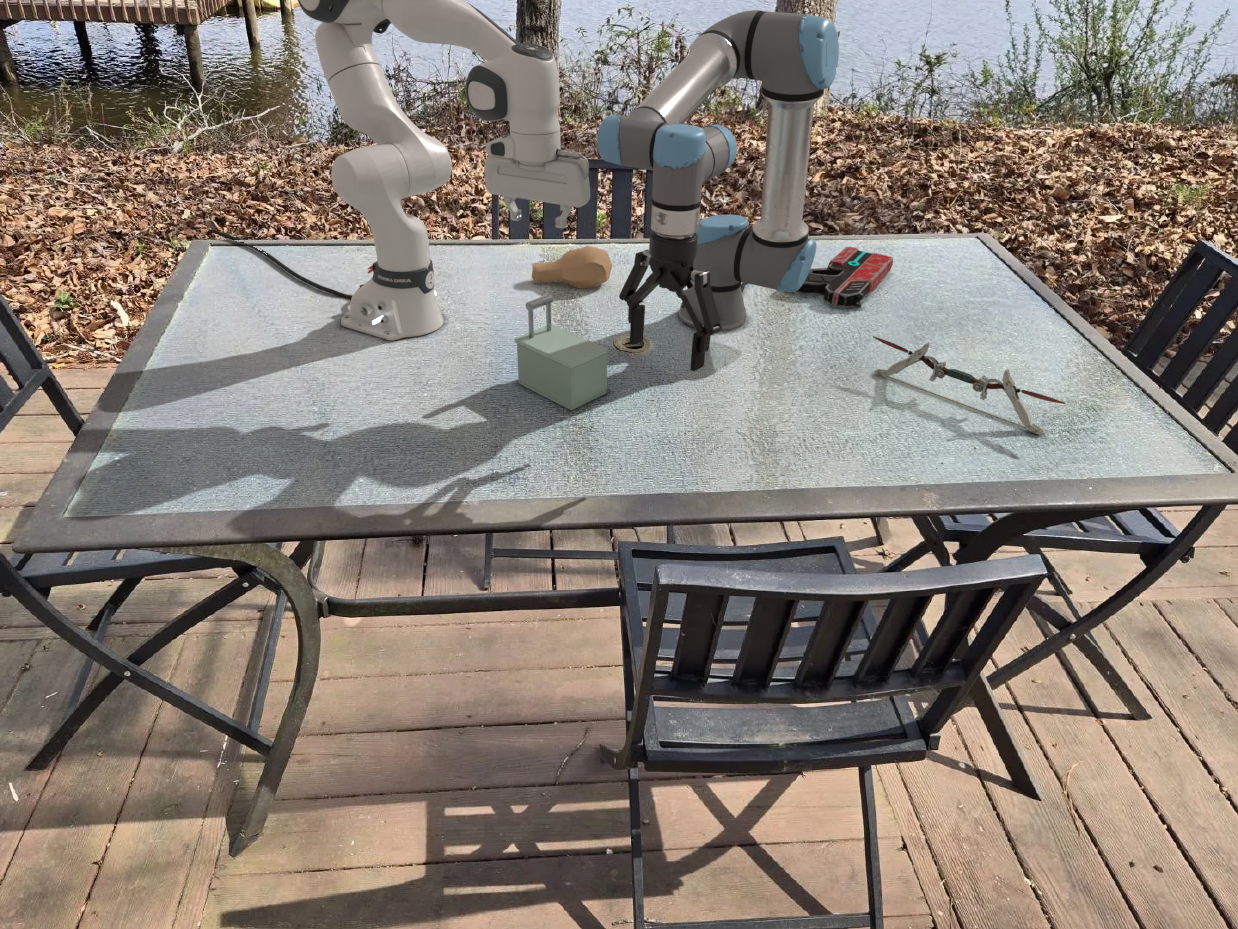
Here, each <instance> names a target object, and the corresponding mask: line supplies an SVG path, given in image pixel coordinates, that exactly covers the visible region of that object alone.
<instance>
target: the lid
mask: <svg viewBox="0 0 1238 929" xmlns="http://www.w3.org/2000/svg"><path fill="white" fill-rule="evenodd" d="M553 302H554V297H553V296H552V295H551V294H546V295H543V296H540V297H538V298H535V299H532V300H530V301H527V302H526V303H525V309H526V310H527V314H528V316H527V317H528V319H527V320H528V332H527V333H524V334H522V335H519V336H516V337H514V343H515V344H516V345H517V344H519V345H522V346H524V347H526V348H528V349H530V350H532V351H534V352H536V353H538V354H541V355H543V356H545V357H547V358H549V359H551V360H553V361H555V362H557V363H560V364H562V365H564V366H566V367H568V368H570V369H572V368H574V367H577V366H579V365H581V364H583V363H585V362H588V361H590V360H592V359H594V358H597V357H599V356H601V355H603V354H605V353H607V354H608V348H607V347H605V346H603V345H601V344H598V343H597V342H593V341H591V340H589V339H587V338H585V337H582V336H580V335H578V334H575V333H573V332H571V331H569V330H566V329H564V328H562V327H560V326H558V325H555V324H553V323H552V306H551V305H552V303H553ZM544 306H545V320H546V321H545V323H546V325H545V326H542V327H539V328H537V329H534V310H536V309H538V308H539V309H540V308H542V307H544Z"/></svg>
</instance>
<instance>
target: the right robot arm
mask: <svg viewBox="0 0 1238 929" xmlns="http://www.w3.org/2000/svg"><path fill="white" fill-rule="evenodd" d="M839 56H840V46H839V36H838V30H837V28H836V26H835V24H834V22H833V21H832V20H831V19H829V18H828V17H825V16H817V15H813V14H810V13H795V12H781V11H765V10H759V9H752V10H744V11H740V12H737V13H734V14H732V15H729V16H727V17H725V18H723V19H721V20H719V21H717V22H716V23H714V24H712V25H711V26H709V27H708V28H706V30H704V31H703V32H702V33H701V34H699V35H698V36H697V37H696V38H695V39H694V40H693V42H692V43H691V45H690V47H689V51H688V55H687V56H686V57H685V58H684V59H683V60H682V61H681V62H680V63H678V65H677V66H676V67H675V68H673V70H672V71H671V72H670V73H669V74H667V76H666V77H665V78H664V79H663V80H662V81H661V82H660V83H659V84H658V85H657V86H656V87H655V88H654V89H653V90H652V91H651V92H650V93H649V94H648V95H647V96H646V97H644V99H643V100H642V101H641V102H640V103H639V104H638V105H637V106H636V107H635V108H634V109H633V110H632V111H631V113H629V114H628V115H627V116H624V115H623V114H617V115H616V114H611V115H607V116H606V117H604V118H603V119H602V121H601V123H600V125H599V128H598V131H597V135H596V136H597V137H596V138H597V139H596V145H597V152H598V154H599V156H600V158H601V159H602V160H603V161H604V162H606V163H610V164H614V165H619V166H620V167H628V168H635V169H642V170H648V171H652V192H651V208H650V209H651V211H650V229H651V231H650V232H649V243H648V249H645V250H642V251H639V252H636V253H635V254H634V262H633V263H634V264H633V266H632V268H631V270H630V272H629V274H628V277H627V278H626V279H625V282H624V285H623V287H622V289H621V290H620V292H619V294H618V298H619V300H620V301H625V303H626V306H627V307H628V310H627V311H628V313H627V321H628V324H630V325H629V326H630V330H629V345H632V346H634V345H636V344H639V343H641V342H644V338H645V336H644V335H645V315H646V305H645V304H642V303H644V302H645V301H644V300H646V298H647V297H648V296H649V295H650V294H651V293H652V292H653V291H654V290H655V289H656V288H657V287H658V286H659V288H661V289H666V290H668V291H669V292H672V293H675V294H676V296H677V298H679V299H681V301H682V302H681V304H680V307H679V314H678V316H679V319H680V321H681V322H682V323H683V324H685V325H686V326H688V327H691V328H693V329H695V330H696V332H693V333H692V344H691V355H690V356H691V357H690V366H689V368H690V371H691V372H696V371H698V370H700V369H702V368H704V367H705V360H706V353H707V352H709V350H710V344H711V336H714V335H715V334H717V333H719V332H729V331H733V330H736V329H738V328H741V327H743V325H744V324H745V323H746V320H747V319H746V318H747V310H746V306H745V301H744V296H743V292H744V290H745V287H746V285H747V284H748V285H753V286H757V287H762V288H765V289H766V288H767V289H771V290H775V291H776V292H788V293H796V292H795V291H797V290H799V289H800V287H801V286H802V285H803V283H804V282H805V280H806V278H807V276H808V274H809V271H810V269H812V265H813V263H814V260H815V256H816V252H817V241H816V240H815V239H813V238H812V237H810V238H809V232H810V231H809V230H810V228H809V225H808V224H807V223H806V222H805V221H804V220H803V218H804V208H805V207H804V206H805V199H806V188H807V187H806V186H807V178H808V168H809V159H810V158H809V157H810V149H811V139H812V129H813V121H814V112H815V111H814V110H815V104H816V103H817V102H818V101H820V99H822V98H823V97H824V93H825V90H826V89H829V88H830V87H831V86H832V85H833V83H834V81H835V78H836V76H837V68H838V66H839ZM733 79H747V80H748V79H749V80H751V81H752V80H753V81H759V82H761V90H760V92H761V96H762V97H763V98H764V99H765V100H766V102H767V103H768V107H767V120H766V133H765V134H766V136H765V147H764V148H765V150H764V151H765V152H764V162H763V163H764V165H763V179H762V193H761V206H760V207H761V208H760V218H759V219H758V220H756V221H755V222H754V223H753V225H752V227H749V226H750V223H749V220H748V218H747V217H744V216H743V215H739V214H717V215H712V216H708V217H704V218H701V219H700V217H701V204H702V203H701V201H702V190H703V184H705V183H706V182H707V181H709V180H712V179H713V178H716V177H718V176H720V175H722V174H723V173H724V172H725V171H726V170H728V169H729V168H731V166H732V165H733V163H734V162H735V161H736V160H735V159H736V158H737V153H738V145H737V140H736V138H735V136H734V134H733V132H731V130H730V129H729V128H727V127H725V126H724V125H722V124H707V125H704V126H702V127H700V126H697V125H694V124H687V123H685V122H686V121H688V119H689V118H690V117H691V116H692V115H693V114H694V113H695V112H696V111H697V109H699V107H700V106H701V105H702V104H703V103H704V102H705V101H706V100H707V99H708V97H709V96H710V95H711V94H713V92H714V91H715V90H716V89H717V88H718V87H722V86H725V85H727V84H728V83H730V81H732V80H733ZM649 267H650V269H651V273H650V274H649V275H648V277H647V278H646V279H645V282H643V284H642V285H641V286H640V284H641V283H642V280H643V278H644V277H645V274H646V272H647V271H648V269H649ZM639 286H640V287H639ZM686 288H687V289H686Z"/></svg>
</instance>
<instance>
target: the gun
mask: <svg viewBox="0 0 1238 929" xmlns="http://www.w3.org/2000/svg"><path fill="white" fill-rule="evenodd" d="M893 265H894V257H892V256H889V255H886V254H882V253H877V252H867V251H863V250H860V249H859V247H853V246H846V247H844V248H843V249H842V250H840V251H839V253H837V254H836V255H835V256H834V257H833V258H832V259H830V260H829V262H828V265H827V267H819V268H818V267H817V268H811V269H810V271H809V274H808V276H807V278H806V280H805V282H804V283H803V285H802V286H801V287H800V289H799V290H797V291H795V292H794V293H796V294H800V295H803V296H804V295H805V296H823V299H822V300H823V301H824V302H825V303H826V304H827V305H831V307H833V308H836V307H837V308H838V307H839V308H843V309H848V308H852V307H853V308H857V309H861V308H862V304H863V303H862V302H861V301H862V300H863V299H865V297H867V296H869V295H870V294H871V293H872V292H873V291H874V290H875V289H876V288H877V287H878V286H879V285H880V284H881V283H882V282H883V280H884V279H885V278H886V276H887V275H888V274H889V273H890V272H891V270H892V267H893Z"/></svg>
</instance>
